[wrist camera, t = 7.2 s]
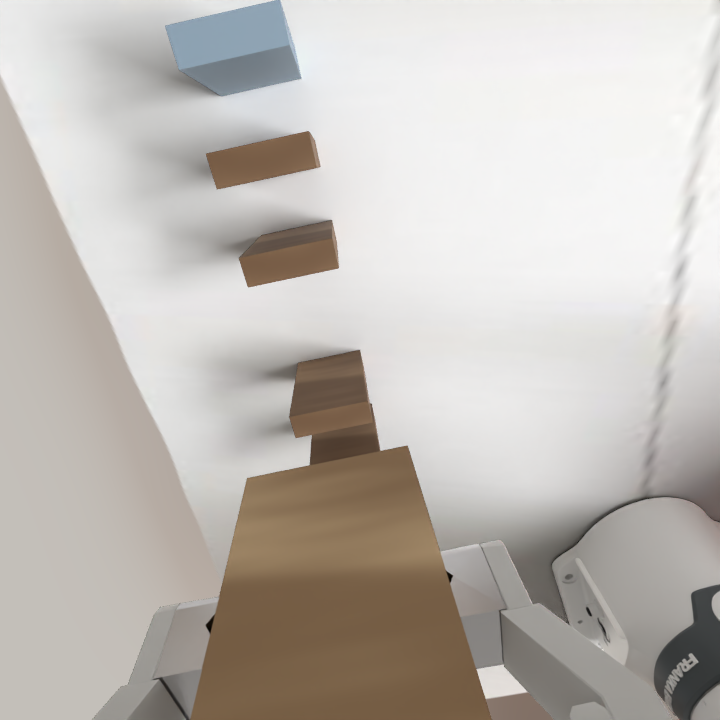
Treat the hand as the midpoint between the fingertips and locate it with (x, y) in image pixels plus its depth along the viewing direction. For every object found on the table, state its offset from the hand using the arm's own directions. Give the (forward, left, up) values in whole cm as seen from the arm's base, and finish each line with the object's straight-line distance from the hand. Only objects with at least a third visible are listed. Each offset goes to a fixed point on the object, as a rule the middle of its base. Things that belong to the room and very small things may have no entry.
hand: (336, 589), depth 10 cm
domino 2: (+10, +1, -24) cm, 26 cm away
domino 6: (0, 0, -4) cm, 4 cm away
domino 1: (+15, +1, -24) cm, 28 cm away
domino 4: (-5, +1, -24) cm, 25 cm away
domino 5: (-10, +1, -24) cm, 26 cm away
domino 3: (+5, +1, -24) cm, 24 cm away
